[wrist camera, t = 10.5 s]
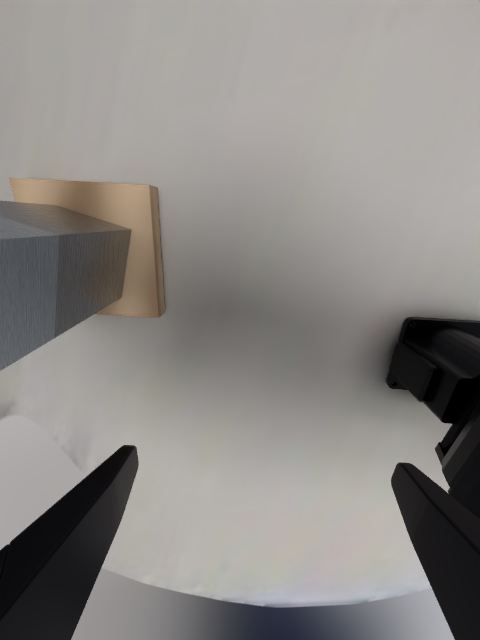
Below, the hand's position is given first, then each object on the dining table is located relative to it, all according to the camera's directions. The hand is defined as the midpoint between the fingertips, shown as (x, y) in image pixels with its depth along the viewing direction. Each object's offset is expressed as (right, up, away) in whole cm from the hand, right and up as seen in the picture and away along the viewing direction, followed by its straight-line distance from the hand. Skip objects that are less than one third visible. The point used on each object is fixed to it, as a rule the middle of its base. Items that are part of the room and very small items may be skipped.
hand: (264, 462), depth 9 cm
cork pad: (-11, +10, +10) cm, 18 cm away
